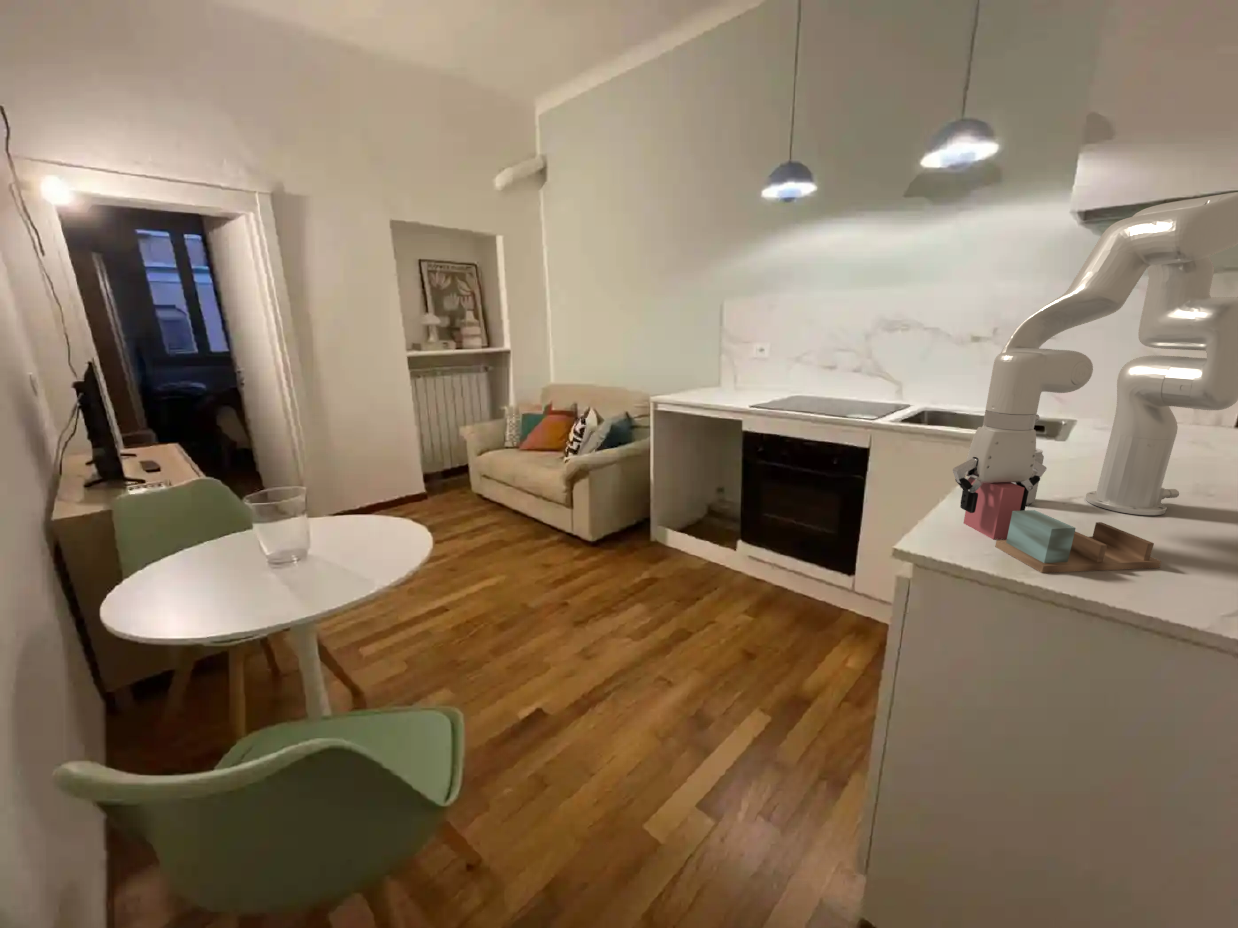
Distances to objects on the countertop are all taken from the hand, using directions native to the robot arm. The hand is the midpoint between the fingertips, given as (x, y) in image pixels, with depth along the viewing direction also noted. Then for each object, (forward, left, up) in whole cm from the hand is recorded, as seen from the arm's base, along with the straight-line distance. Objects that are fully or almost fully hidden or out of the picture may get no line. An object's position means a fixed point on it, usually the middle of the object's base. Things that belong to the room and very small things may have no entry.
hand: (991, 509), depth 99 cm
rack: (-6, +12, -4) cm, 14 cm away
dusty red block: (0, 0, -4) cm, 4 cm away
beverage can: (-18, -15, -4) cm, 24 cm away
